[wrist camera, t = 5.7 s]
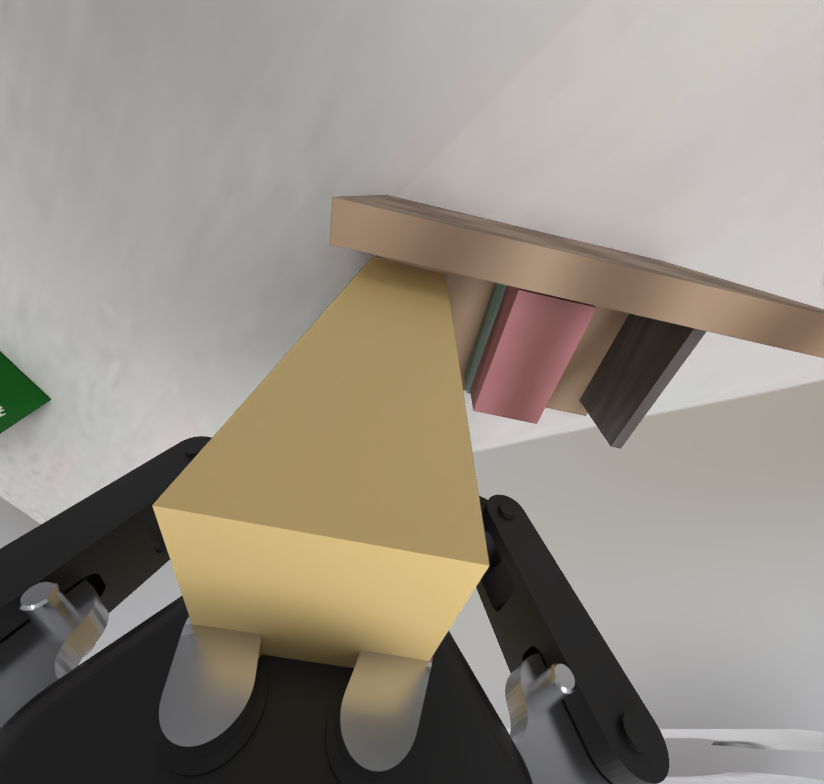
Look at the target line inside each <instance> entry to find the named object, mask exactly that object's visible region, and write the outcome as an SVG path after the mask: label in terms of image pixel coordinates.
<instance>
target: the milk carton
mask: <svg viewBox="0 0 824 784" xmlns="http://www.w3.org/2000/svg"><path fill="white" fill-rule="evenodd" d="M50 400H51V399H50V398H48V397H47V396H46V395H45V394H44V393H43V392H42V391H41V390H40V389H39V388H38V387H37V386H36V385H35V384H34V383H32V382H31V381H30V380H29V379H28V378H27V377H26V376H25V375H24V374H23V373H22V372H21V371H20V370H19V369H18V368H16V367H15V366H14V365H13V364H12V363H11V362H10V361H9V360H8V359H7V358H6V357H5V356H4V355H3V354H1V353H0V433H2V432H3V431H5V430H6V429H8V428H9V427H11V426H12V425H14V424H15V423H17V422H18V421H20V420H21V419H22V418H24V417H25V416H27V415H29V414H30V413H32V412H33V411H35V410H36V409H37V408H39V407H40V406H42V405H43V404H45V403H47V402H48V401H50Z"/></svg>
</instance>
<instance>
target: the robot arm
mask: <svg viewBox="0 0 824 784" xmlns="http://www.w3.org/2000/svg"><path fill="white" fill-rule="evenodd" d="M211 439H212V438H211V437H203V436H200V437H193V438H189V439H186V440H184V441H182V442H180V443H178V444H176V445H175V446H173V447H171V448H170V449H168V450H166V451H165V452H163V453H161V454H160V455H158V456H156V457H155V458H153V459H151V460H149V461H148V462H146V463H144V464H143V465H141V466H139V467H138V468H136V469H134V470H133V471H131V472H129V473H127V474H126V475H124V476H122V477H121V478H119V479H117V480H116V481H114V482H112V483H111V484H109V485H107V486H106V487H104V488H102V489H100V490H99V491H97V492H95V493H94V494H92V495H90V496H89V497H87V498H85V499H84V500H82V501H80V502H79V503H77V504H75V505H73V506H72V507H70V508H68V509H67V510H65V511H63V512H62V513H60V514H58V515H57V516H55V517H53V518H51V519H50V520H48V521H46V522H45V523H43V524H41V525H40V526H38V527H36V528H35V529H33V530H31V531H30V532H28V533H26V534H24V535H23V536H21V537H19V538H18V539H16V540H14V541H13V542H11V543H9V544H8V545H6V546H4V547H3V548H1V549H0V784H657V783H660V782H662V781H663V780H664V779H665V778H666V776H667V774H668V769H669V757H668V751H667V747H666V744H665V741H664V738H663V736H662V734H661V732H660V730H659V728H658V726H657V725H656V723H655V721H654V719H653V718H652V716H651V715H650V713H649V711H648V710H647V708H646V707H645V705H644V703H643V702H642V700H641V698H640V697H639V695H638V694H637V692H636V690H635V689H634V687H633V685H632V684H631V682H630V681H629V679H628V677H627V676H626V674H625V673H624V671H623V669H622V668H621V666H620V665H619V663H618V661H617V660H616V658H615V656H614V655H613V653H612V652H611V650H610V649H609V647H608V645H607V644H606V642H605V640H604V639H603V637H602V636H601V634H600V632H599V631H598V629H597V628H596V626H595V624H594V623H593V621H592V619H591V618H590V616H589V615H588V613H587V611H586V610H585V608H584V607H583V605H582V603H581V602H580V600H579V598H578V597H577V595H576V594H575V592H574V591H573V589H572V587H571V586H570V584H569V582H568V581H567V579H566V578H565V576H564V574H563V573H562V571H561V570H560V568H559V566H558V565H557V563H556V561H555V560H554V558H553V557H552V555H551V554H550V552H549V550H548V549H547V547H546V545H545V544H544V542H543V541H542V539H541V537H540V536H539V534H538V532H537V531H536V529H535V528H534V526H533V524H532V523H531V521H530V520H529V518H528V516H527V515H526V513H525V512H524V510H523V509H522V507H521V506H520V505H519V504H518V503H517V502H516V501H515V500H513V499H512V498H510V497H507V496H504V495H494V496H492V497H490V498H489V500H487V499H485V498H483V497H480V496H479V500H480V506H481V513H482V520H483V526H484V533H485V539H486V546H487V553H488V559H489V567H488V569H487V570H486V572H485V574H484V575H483V577H482V578H481V580H480V581H479V583H478V585H477V586H476V588H477V590H478V593H479V595H480V598H481V600H482V603H483V605H484V608H485V610H486V613H487V615H488V618H489V620H490V623H491V625H492V628H493V630H494V633H495V635H496V638H497V640H498V643H499V645H500V648H501V650H502V653H503V655H504V658H505V660H506V663H507V665H508V668H509V670H510V673H511V674H510V676H509V678H508V679H507V683H506V689H505V696H506V702H507V706H508V710H509V713H510V720H511V732H510V735H509V733H508V731H507V730H506V728H505V726H504V724H503V723H502V721H501V719H500V718H499V716H498V714H497V713H496V711H495V709H494V707H493V706H492V704H491V702H490V701H489V699H488V697H487V695H486V694H485V692H484V690H483V689H482V687H481V685H480V683H479V682H478V680H477V679H476V677H475V675H474V673H473V671H472V670H471V668H470V666H469V665H468V663H467V661H466V659H465V658H464V656H463V654H462V653H461V651H460V649H459V648H458V646H457V644H456V643H455V641H454V639H453V637H452V636H451V634H450V632H449V631H448V632H447V634H446V635H445V637H444V638H443V640H442V642H441V643H440V645H439V646H438V648H437V649H436V651H435V653H434V654H433V656H432V657H431V659H430V661H425V660H419V659H414V658H408V657H402V656H396V655H390V654H383V653H377V652H371V651H364V650H361V652H360V655H359V658H358V660H357V663H356V665H355V668H349V667H342V666H335V665H329V664H322V663H316V662H309V661H302V660H296V659H289V658H283V657H276V656H269V655H263V647H262V635H261V634H255V633H249V632H242V631H236V630H229V629H223V628H216V627H209V626H201V625H194V624H192V623H191V620H190V617H189V614H188V611H187V608H186V605H185V602H184V599H183V596H181V597H180V598H178V599H177V600H175V601H174V602H172V603H171V604H169V605H168V606H166V607H165V608H163V609H162V610H160V611H159V612H157V613H156V614H154V615H153V616H151V617H150V618H148V619H147V620H145V621H144V622H143V623H141V624H140V625H138V626H137V627H135V628H134V629H132V630H131V631H129V632H128V633H126V634H125V635H123V636H122V637H120V638H119V639H117V640H116V641H114V642H113V643H111V644H110V645H108V646H107V647H105V648H104V649H102V650H101V651H100V652H98V653H97V654H95V655H94V656H92V657H91V658H89V659H88V660H86V661H85V662H83V663H82V664H80V665H79V666H78V664H79V663H80V661H81V659H82V658H83V657H84V656H85V655H87V654H88V653H89V652H90V651H91V650H92V649H93V647H94V646H95V643H96V642H97V641H98V639H99V638H100V636H101V635H102V634H103V632H104V630H105V628H106V626H107V623H108V616H109V614H108V613H109V612H111V611H112V610H113V609H114V608H115V607H116V606H118V604H120V603H121V602H122V601H123V600H124V599H125V598H127V597H128V596H129V595H130V594H131V593H132V592H133V591H135V590H136V589H137V588H138V587H139V586H140V585H141V584H143V583H144V582H145V581H146V580H147V579H148V578H149V577H150V576H152V575H153V574H154V573H155V572H156V571H157V570H158V569H160V568H161V567H162V566H163V565H164V564H165V563H166V562H167V561H168V560H170V557H169V554H168V551H167V548H166V545H165V542H164V539H163V536H162V533H161V530H160V527H159V524H158V521H157V518H156V515H155V512H154V509H153V506H152V505H153V504H154V503H155V502H156V501H157V499H158V498H159V497H160V496H161V495H162V494H163V493H164V492H165V490H166V489H167V488H168V487H169V486H170V485H171V484H172V483H173V481H174V480H175V479H176V478H177V477H178V476H179V475H180V474H181V472H182V471H183V470H184V469H185V468H186V467H187V466H188V464H189V463H190V462H191V461H192V460H193V459H194V458H195V457H196V455H197V454H198V453H199V452H200V451H201V450H202V449H203V448H204V446H205V445H206V444H207V443H208V442H209V441H210V440H211Z"/></svg>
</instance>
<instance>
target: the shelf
mask: <svg viewBox="0 0 824 784" xmlns="http://www.w3.org/2000/svg"><path fill="white" fill-rule="evenodd" d="M330 245H334V246H339V247H343V248H347V249H352V250H356V251H360V252H365V253H369V254H373V255H376V257H377V258H381V259H385V260H389V261H393V262H397V263H401V264H406V265H410V266H414V267H418V268H422V269H426V270H430V271H435V272H439V273H443V274H446V281H447V287H448V294H449V301H450V307H451V314H452V321H453V327H454V334H455V340H456V347H457V354H458V360H459V367H460V374H461V380H462V387H463V390H466V391H467V393H471V399H472V405H473V411H478V412H482V413H487V414H492V415H497V416H501V417H506V418H511V419H516V420H520V421H525V422H530V423H535V424H537V423H538V421H539V419H540V417H541V415H542V413H543V411H544V409H545V407H546V408H551V409H556V410H560V411H565V412H570V413H575V414H579V415H584V416H586V415H587V413H588V414H589V415H590V417H591V418H592V420H593V421H594V422H595V424H596V425H597V427H598V428H599V430H600V431H601V433H602V434H603V436H604V437H605V438H606V440H607V441H608V443H609V444H610V446H611V447H616V448H621V447H622V446H623V445H624V443H625V442H626V441H627V439H628V438H629V437H630V435H631V434H632V432H633V431H634V430H635V428H636V427H637V426H638V424H639V423H640V422H641V420H642V419H643V417H644V416H645V415H646V413H647V412H648V411H649V409H650V408H651V407H652V405H653V404H654V402H655V401H656V400H657V398H658V397H659V396H660V394H661V393H662V392H663V390H664V389H665V387H666V386H667V385H668V383H669V382H670V381H671V379H672V378H673V376H674V375H675V374H676V372H677V371H678V370H679V368H680V367H681V366H682V364H683V363H684V361H685V360H686V359H687V357H688V356H689V355H690V353H691V352H692V351H693V349H694V348H695V346H696V345H697V344H698V342H699V341H700V340H701V338H702V337H703V336H704V334H705V333H706V331H708V332H712V333H717V334H721V335H725V336H730V337H734V338H738V339H743V340H747V341H752V342H756V343H760V344H765V345H769V346H773V347H778V348H782V349H786V350H791V351H795V352H799V353H804V354H808V355H812V356H817V357H821V358H824V310H823V309H820V308H817V307H813V306H810V305H807V304H803V303H800V302H797V301H793V300H790V299H787V298H783V297H780V296H777V295H774V294H770V293H767V292H764V291H760V290H757V289H754V288H750V287H747V286H744V285H740V284H737V283H734V282H730V281H727V280H724V279H720V278H717V277H714V276H710V275H707V274H704V273H701V272H697V271H694V270H691V269H687V268H684V267H681V266H677V265H674V264H671V263H667V262H664V261H659V260H655V259H651V258H647V257H643V256H639V255H634V254H630V253H626V252H622V251H618V250H614V249H609V248H605V247H601V246H597V245H593V244H588V243H584V242H580V241H576V240H572V239H568V238H563V237H559V236H555V235H551V234H547V233H543V232H538V231H534V230H530V229H526V228H522V227H518V226H513V225H509V224H505V223H501V222H497V221H492V220H488V219H484V218H480V217H476V216H472V215H467V214H463V213H459V212H455V211H451V210H447V209H442V208H438V207H434V206H430V205H426V204H421V203H417V202H413V201H409V200H405V199H401V198H396V197H392V196H388V195H377V196H348V197H332V211H331V228H330Z"/></svg>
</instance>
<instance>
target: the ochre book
mask: <svg viewBox="0 0 824 784" xmlns="http://www.w3.org/2000/svg"><path fill="white" fill-rule="evenodd" d="M152 506H153V509H154V512H155V515H156V518H157V521H158V524H159V527H160V530H161V533H162V536H163V539H164V542H165V545H166V548H167V551H168V554H169V557H170V560H171V563H172V566H173V569H174V572H175V575H176V578H177V581H178V584H179V587H180V590H181V593H182V596H183V599H184V602H185V605H186V608H187V611H188V614H189V617H190V620H191V623H192V624H194V625H201V626H209V627H216V628H223V629H229V630H236V631H242V632H249V633H255V634H261V635H262V647H263V655H269V656H276V657H283V658H289V659H296V660H302V661H309V662H316V663H322V664H329V665H335V666H342V667H349V668H355V665H356V663H357V660H358V658H359V655H360V652H361V650H364V651H371V652H377V653H383V654H390V655H396V656H402V657H408V658H414V659H419V660H425V661H430V659H431V657H432V656H433V654H434V653H435V651H436V649H437V648H438V646H439V645H440V643H441V642H442V640H443V638H444V637H445V635H446V634H447V632H448V631H449V629H450V627H451V626H452V624H453V623H454V621H455V619H456V618H457V616H458V614H459V613H460V612H461V610H462V608H463V607H464V605H465V604H466V602H467V600H468V599H469V597H470V596H471V594H472V593H473V591H474V589H475V588H476V586H477V585H478V583H479V581H480V580H481V578H482V577H483V575H484V574H485V572H486V570H487V569H488V567H489V559H488V553H487V546H486V539H485V533H484V526H483V520H482V513H481V506H480V500H479V493H478V487H477V480H476V473H475V467H474V460H473V453H472V447H471V440H470V433H469V427H468V420H467V413H466V407H465V400H464V394H463V387H462V380H461V374H460V367H459V360H458V354H457V347H456V340H455V334H454V327H453V321H452V314H451V307H450V301H449V294H448V287H447V281H446V274H443V273H439V272H435V271H430V270H426V269H422V268H418V267H414V266H410V265H406V264H401V263H397V262H393V261H389V260H385V259H381V258H377V257H372V258H371V259H370V260H369V261H368V262H367V264H366V265H365V266H364V267H363V268H362V269H361V270H360V271H359V273H358V274H357V275H356V276H355V277H354V278H353V279H352V281H351V282H350V283H349V284H348V285H347V286H346V287H345V288H344V290H343V291H342V292H341V293H340V294H339V295H338V296H337V297H336V299H335V300H334V301H333V302H332V303H331V304H330V305H329V306H328V308H327V309H326V310H325V311H324V312H323V313H322V314H321V316H320V317H319V318H318V319H317V320H316V321H315V322H314V323H313V325H312V326H311V327H310V328H309V329H308V330H307V331H306V332H305V334H304V335H303V336H302V337H301V338H300V339H299V340H298V341H297V343H296V344H295V345H294V346H293V347H292V348H291V349H290V350H289V352H288V353H287V354H286V355H285V356H284V357H283V358H282V360H281V361H280V362H279V363H278V364H277V365H276V366H275V367H274V369H273V370H272V371H271V372H270V373H269V374H268V375H267V376H266V378H265V379H264V380H263V381H262V382H261V383H260V384H259V385H258V387H257V388H256V389H255V390H254V391H253V392H252V393H251V395H250V396H249V397H248V398H247V399H246V400H245V401H244V402H243V404H242V405H241V406H240V407H239V408H238V409H237V410H236V411H235V413H234V414H233V415H232V416H231V417H230V418H229V419H228V420H227V422H226V423H225V424H224V425H223V426H222V427H221V428H220V430H219V431H218V432H217V433H216V434H215V435H214V436H213V437H212V439H211V440H210V441H209V442H208V443H207V444H206V445H205V446H204V448H203V449H202V450H201V451H200V452H199V453H198V454H197V455H196V457H195V458H194V459H193V460H192V461H191V462H190V463H189V464H188V466H187V467H186V468H185V469H184V470H183V471H182V472H181V474H180V475H179V476H178V477H177V478H176V479H175V480H174V481H173V483H172V484H171V485H170V486H169V487H168V488H167V489H166V490H165V492H164V493H163V494H162V495H161V496H160V497H159V498H158V499H157V501H156V502H155V503H154V504H153V505H152Z"/></svg>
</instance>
